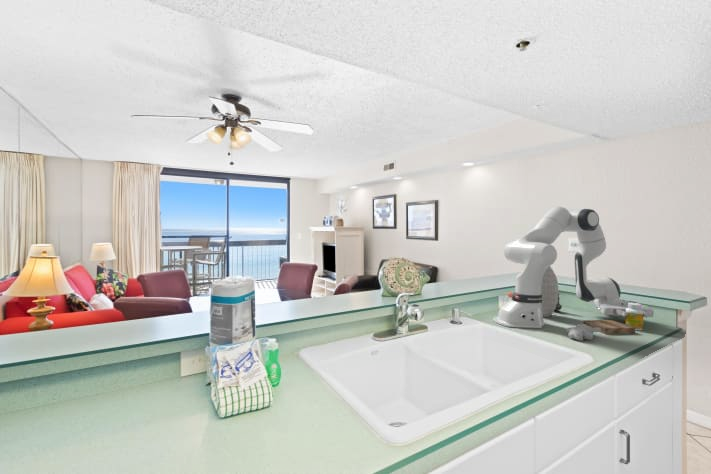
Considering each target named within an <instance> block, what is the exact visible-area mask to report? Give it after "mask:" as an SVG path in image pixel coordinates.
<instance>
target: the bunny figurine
mask: <svg viewBox="0 0 711 474" xmlns="http://www.w3.org/2000/svg"><path fill="white" fill-rule="evenodd" d="M601 332H602V330H601V328H592V327H590V326H587V325H586V324H583V323H582V324H581V323H578V324H577V325H575V327H567V328H566V334H568V338H570V339H572V340H575V341H580V342H583V341H584V340H591V341H592V340H594V334H595V333H601Z"/></svg>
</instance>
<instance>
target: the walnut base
mask: <svg viewBox="0 0 711 474" xmlns="http://www.w3.org/2000/svg"><path fill="white" fill-rule="evenodd" d="M582 321H583V322H582V324H586V325H587V326H590V327H592V328H601V330H602V332H600V334H603V335H604V334H605V335H623V334H625V335H626V334H628V335H629V334H636V330H635V327H632V326H629V325H626V324H625V323H622V322H619V321H615V320H614V319H589V320H588V319H587V320H586V319H585V320H582Z"/></svg>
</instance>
